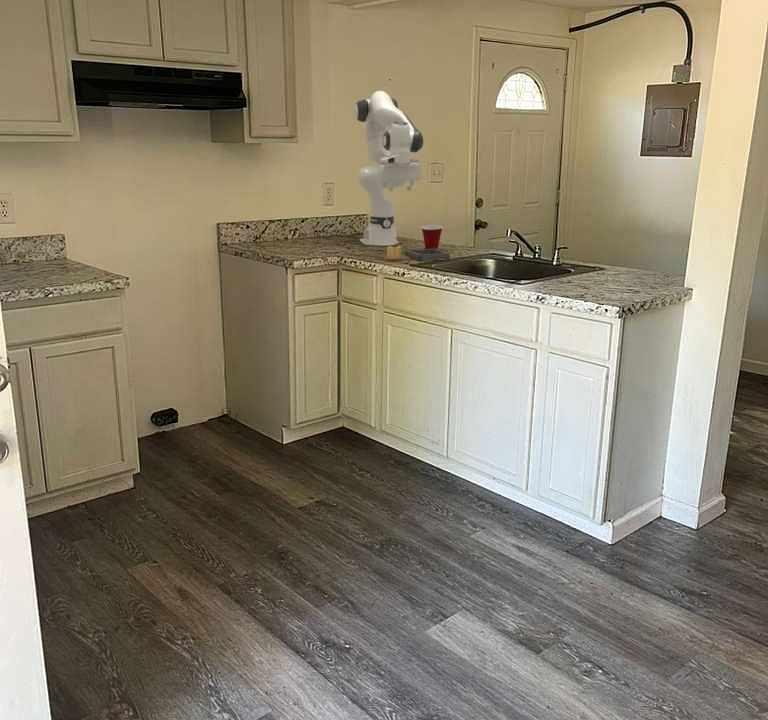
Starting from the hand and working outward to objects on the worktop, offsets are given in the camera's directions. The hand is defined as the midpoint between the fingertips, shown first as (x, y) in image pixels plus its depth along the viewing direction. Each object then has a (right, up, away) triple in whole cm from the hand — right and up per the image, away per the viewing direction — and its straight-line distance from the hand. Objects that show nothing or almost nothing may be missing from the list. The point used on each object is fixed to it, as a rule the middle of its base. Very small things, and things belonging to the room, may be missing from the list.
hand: (399, 190), depth 345 cm
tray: (+13, -30, +7) cm, 33 cm away
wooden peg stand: (-3, -30, +4) cm, 31 cm away
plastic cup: (+16, -23, +28) cm, 40 cm away
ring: (-3, -29, +4) cm, 30 cm away
